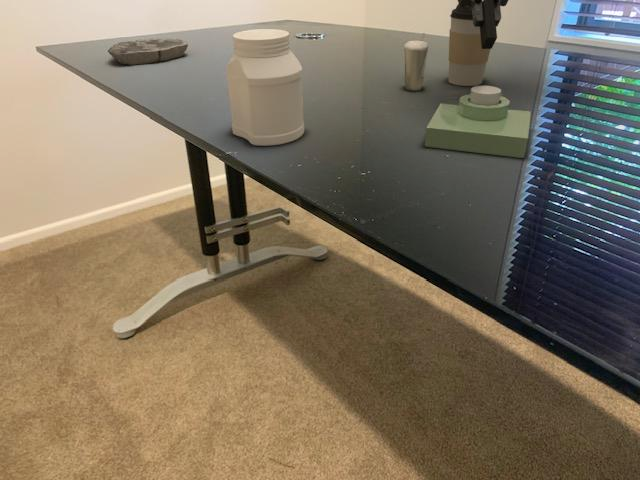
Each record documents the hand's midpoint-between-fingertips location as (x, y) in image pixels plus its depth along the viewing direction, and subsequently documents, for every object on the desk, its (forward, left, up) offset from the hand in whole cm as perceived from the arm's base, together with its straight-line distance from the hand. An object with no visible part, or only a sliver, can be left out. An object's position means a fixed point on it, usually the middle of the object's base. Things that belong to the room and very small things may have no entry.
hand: (489, 43), depth 75 cm
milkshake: (+14, -19, -13) cm, 27 cm away
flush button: (-1, +2, -8) cm, 9 cm away
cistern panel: (-1, +5, -13) cm, 14 cm away
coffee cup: (+5, -27, -13) cm, 30 cm away
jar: (+31, +13, -13) cm, 36 cm away
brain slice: (+85, -27, -13) cm, 90 cm away
